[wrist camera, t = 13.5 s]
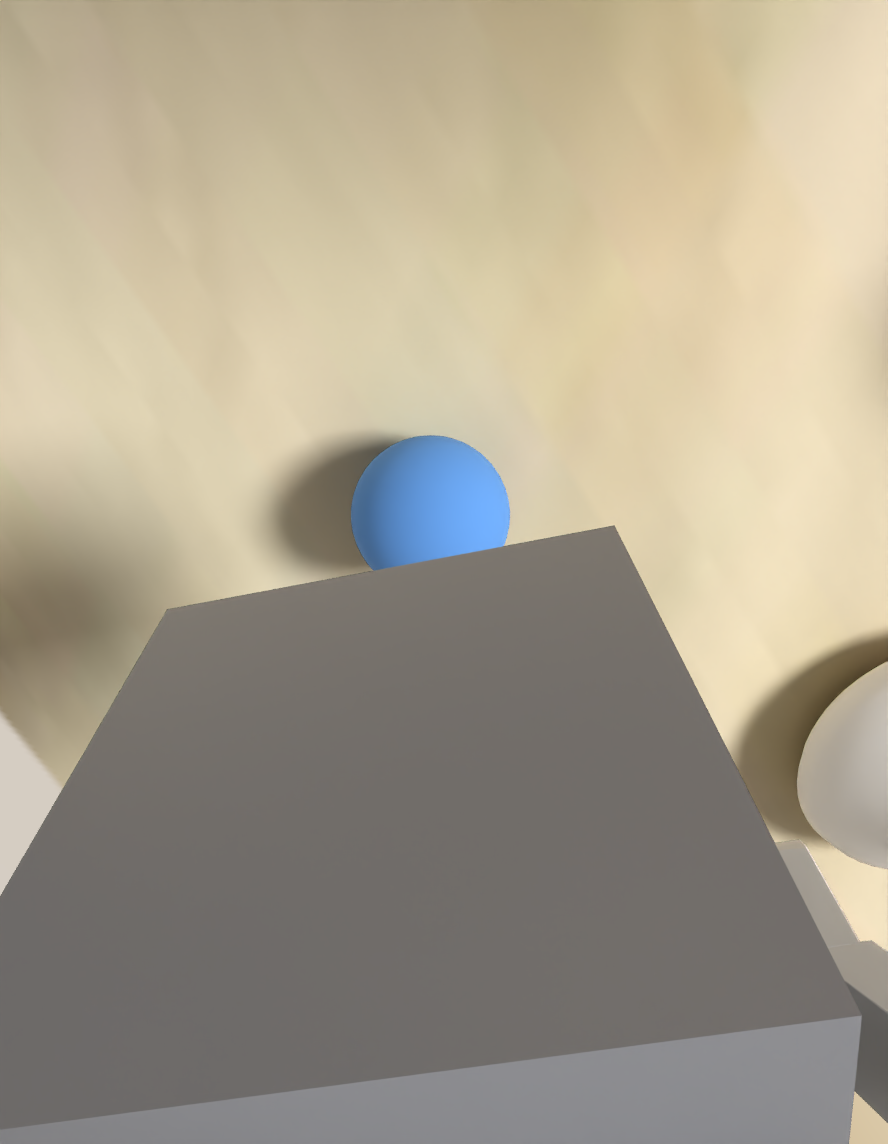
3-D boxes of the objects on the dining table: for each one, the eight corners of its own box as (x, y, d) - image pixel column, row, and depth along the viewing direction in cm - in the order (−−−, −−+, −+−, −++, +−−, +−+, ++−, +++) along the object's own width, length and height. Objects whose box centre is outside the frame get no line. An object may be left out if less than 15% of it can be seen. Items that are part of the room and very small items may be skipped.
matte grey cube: (614, 525, 12) (863, 1016, 5) (648, 849, 15) (822, 1399, 9) (167, 609, 13) (-148, 1149, 6) (296, 903, 16) (197, 1458, 9)
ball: (525, 608, 25) (502, 486, 27) (516, 522, 20) (490, 388, 23) (375, 633, 25) (366, 510, 28) (336, 554, 21) (329, 417, 23)
